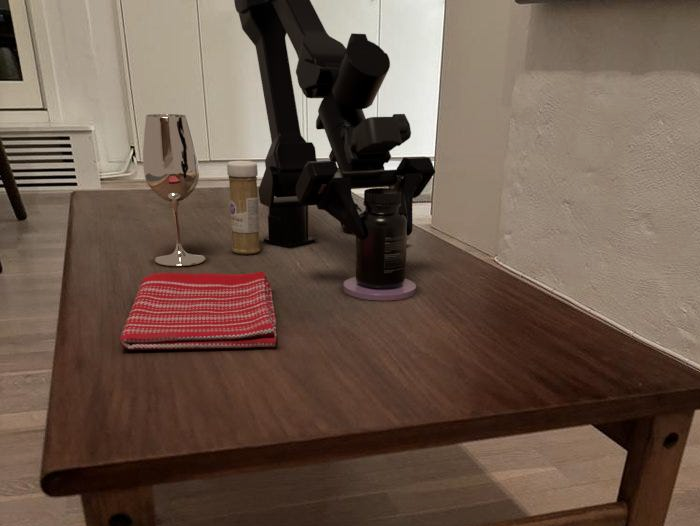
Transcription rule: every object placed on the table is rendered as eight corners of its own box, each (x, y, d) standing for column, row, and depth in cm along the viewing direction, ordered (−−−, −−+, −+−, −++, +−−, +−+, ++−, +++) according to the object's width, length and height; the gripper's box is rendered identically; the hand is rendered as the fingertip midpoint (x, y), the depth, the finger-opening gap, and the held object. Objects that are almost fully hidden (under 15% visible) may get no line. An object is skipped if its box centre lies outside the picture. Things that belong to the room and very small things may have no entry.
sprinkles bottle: (226, 251, 118) (220, 161, 112) (247, 247, 121) (243, 159, 115) (245, 256, 116) (240, 164, 109) (266, 252, 119) (263, 162, 112)
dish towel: (270, 289, 101) (269, 269, 99) (280, 349, 80) (279, 326, 79) (141, 291, 98) (139, 271, 97) (118, 354, 78) (114, 330, 77)
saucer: (373, 276, 108) (373, 270, 107) (430, 289, 102) (430, 283, 102) (328, 290, 101) (328, 283, 100) (386, 305, 95) (386, 298, 95)
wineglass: (194, 268, 109) (181, 118, 99) (145, 265, 110) (127, 116, 100) (213, 256, 115) (203, 114, 105) (167, 253, 117) (152, 112, 107)
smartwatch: (343, 235, 131) (344, 205, 129) (336, 229, 136) (336, 200, 133) (365, 234, 132) (366, 205, 130) (357, 228, 137) (358, 200, 134)
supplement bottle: (403, 276, 104) (408, 186, 98) (405, 291, 98) (411, 196, 92) (355, 275, 104) (357, 185, 98) (354, 289, 98) (356, 194, 92)
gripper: (303, 89, 88) (344, 202, 86) (433, 89, 96) (474, 192, 94) (279, 152, 98) (315, 255, 96) (398, 148, 106) (435, 243, 103)
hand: (386, 235), depth 97 cm, fingers closed on supplement bottle, 7 cm apart
